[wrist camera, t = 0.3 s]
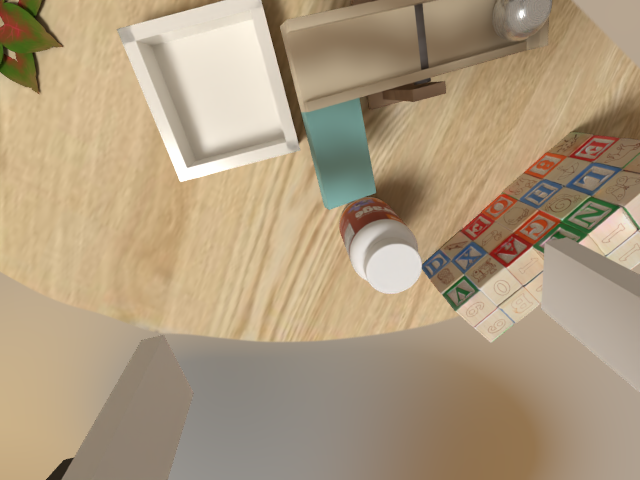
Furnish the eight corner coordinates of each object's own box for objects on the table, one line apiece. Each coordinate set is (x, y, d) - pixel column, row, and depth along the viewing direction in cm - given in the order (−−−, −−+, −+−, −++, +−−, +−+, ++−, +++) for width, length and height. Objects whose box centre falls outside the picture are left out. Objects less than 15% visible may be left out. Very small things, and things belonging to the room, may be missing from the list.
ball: (479, -6, 25) (517, -23, 22) (523, -17, 25) (567, -35, 22) (482, 50, 26) (518, 42, 23) (523, 39, 27) (564, 29, 23)
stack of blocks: (449, 295, 43) (507, 366, 32) (418, 265, 41) (468, 331, 30) (598, 169, 39) (727, 201, 27) (571, 128, 36) (699, 145, 25)
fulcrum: (350, 1, 30) (376, -34, 22) (406, -14, 30) (454, -55, 22) (369, 109, 34) (397, 115, 25) (419, 95, 34) (464, 97, 25)
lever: (278, 21, 22) (290, 8, 19) (514, -29, 26) (550, -45, 24) (324, 206, 27) (338, 215, 24) (515, 137, 31) (545, 139, 29)
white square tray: (137, 37, 30) (116, 29, 26) (262, 3, 30) (258, -9, 26) (191, 172, 34) (180, 181, 31) (298, 144, 34) (300, 150, 31)
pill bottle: (398, 197, 38) (440, 237, 27) (387, 249, 40) (423, 303, 30) (341, 193, 37) (363, 232, 27) (334, 246, 39) (352, 300, 29)
